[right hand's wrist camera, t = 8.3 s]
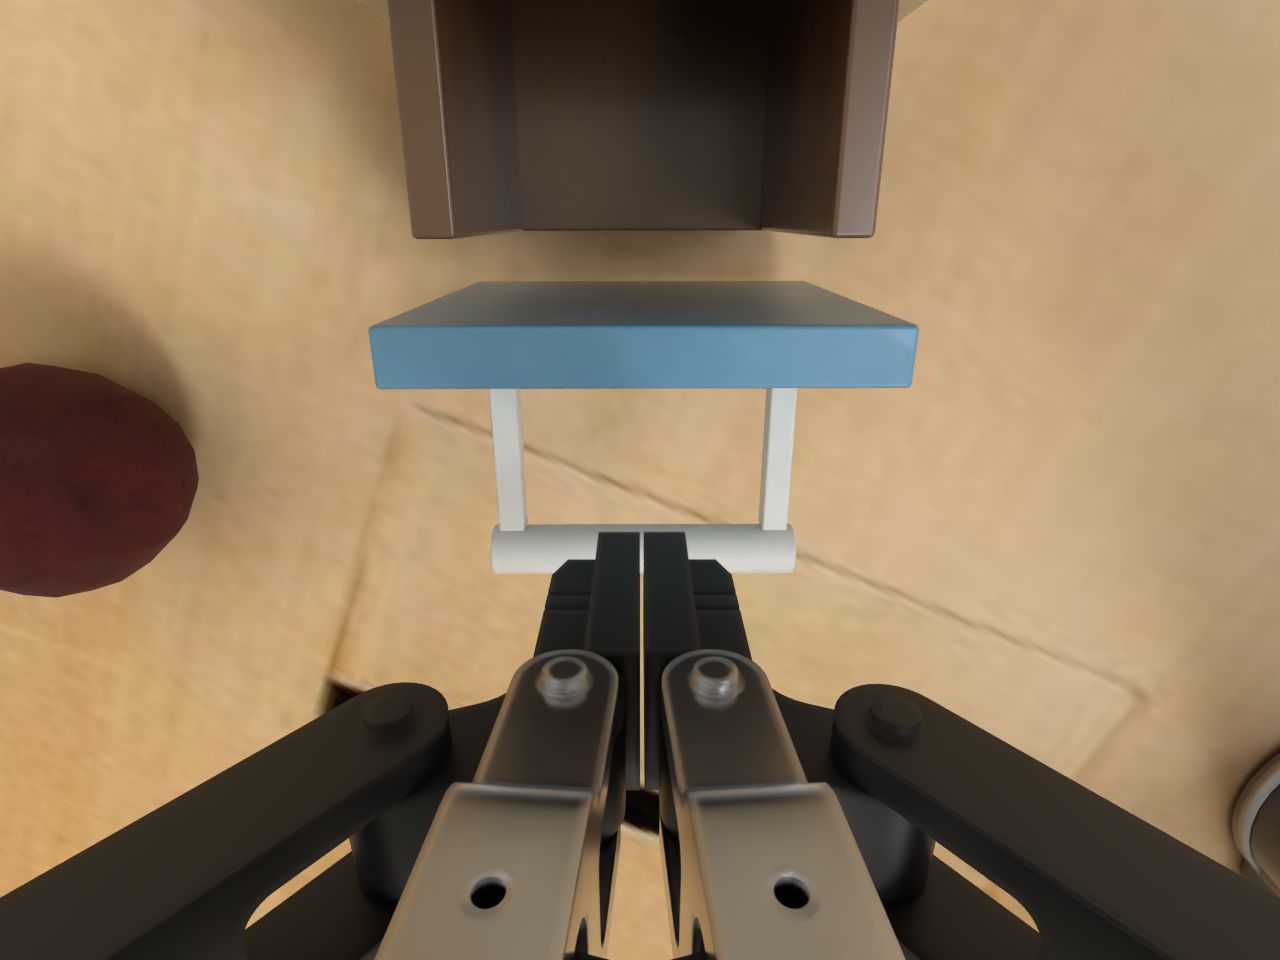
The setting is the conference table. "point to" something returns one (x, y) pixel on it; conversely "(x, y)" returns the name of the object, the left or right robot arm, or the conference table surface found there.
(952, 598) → the conference table surface
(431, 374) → the drawer
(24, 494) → the potato
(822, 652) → the conference table surface
